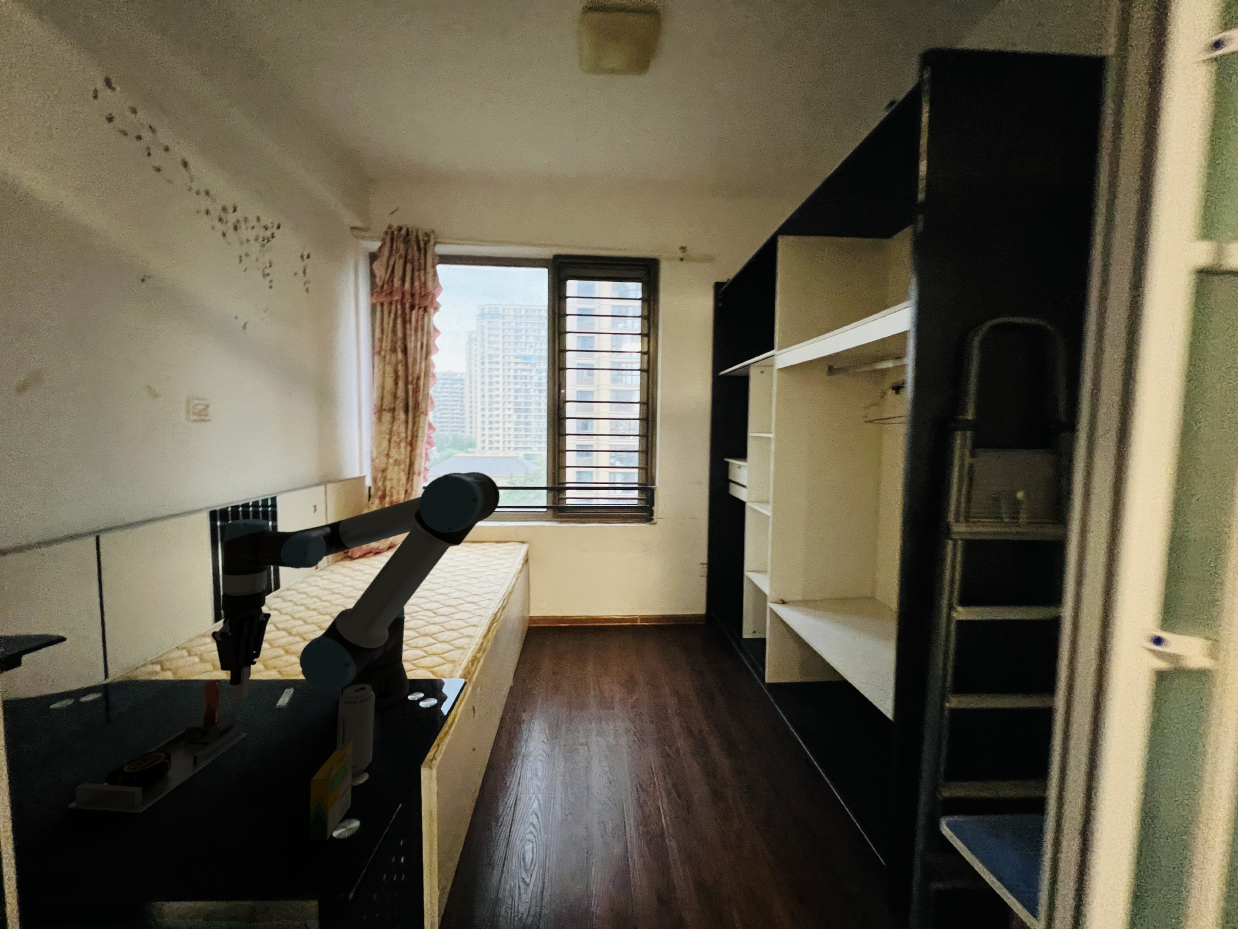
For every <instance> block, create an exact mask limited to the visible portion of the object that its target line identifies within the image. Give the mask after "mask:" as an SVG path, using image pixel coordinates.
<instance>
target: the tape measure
mask: <svg viewBox="0 0 1238 929" xmlns="http://www.w3.org/2000/svg"><path fill="white" fill-rule="evenodd" d="M146 752H147V751H146ZM170 768H171V754H170V753H169V752H168V751H150V752H147V753H143V754H141V755H139V756H137V757H135V758H133V759H131V760H129V761H128V762H126V763H123V764H122V765H120V766H118V767H115V768H114V769H112V770H110V771H109V772H108V774H107V776H105V777H104V778H105V780H104V781H105V782H104V783H108V785H115V786H129V787H144V786H147V785H149V784H152V783H154V782H156V781H157V780H159V779H161V778H162V777H163V776H165V775H166V774H167V773H168V772H169V770H170Z"/></svg>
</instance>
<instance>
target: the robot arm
mask: <svg viewBox="0 0 1238 929" xmlns="http://www.w3.org/2000/svg"><path fill="white" fill-rule="evenodd" d="M500 497H501V496H500V490H499V488H498V485H497V483H496V481H494V480H493V479H492V478H491V477H490V476H489V475H487V474H485V473H483V472H478V471H471V472H470V471H469V472H465V473H464V472H450V473H446V474H443V475H441V476H438V477H436V478H435V479H433V480H432V481H430V482H429V483H428V484H427V485H426V486H425V488H424V489H423V491H422V493H421V495H420V496H418V497H415V498H412V499H408V500H405V501H401V502H399V503H395V504H392V505H388V506H385V507H381V508H378V509H373V510H371V511H368V512H363V513H360V514H358V515H357V514H356V515H353V516H350V517H346V518H344V519H341V520H336V521H334V522H330V523H326V524H322V525H318V526H315V527H314V526H312V527H309V528H305V529H299V530H295V531H279V530H278V531H277V530H276V531H275V530H271V528H270V522H269V521H268V520H266V519H259V518H252V519H251V518H249V519H248V518H247V519H239V520H232V521H230V522H228V523H227V525H226V526H225V531H224V532H225V533H224V539H223V570H222V574H223V576H222V592H223V593H222V595H221V606H220V609H221V611H222V612H223V614H224V618H223V620H222V626H221V627H220V628H219V629H218V630H213V631H212V632H211V634H210V635H211V638H212V639H213V640H214V642H215V646H216V650H217V656H218V661H219V666H220V670H221V671H224V672H230V673H229V674H230V675H229V685H230V688H231V689H230V699H240V700H241V699H242V700H243V699H245V698H247V697H248V696H249V692H250V691H249V688H250V678H251V673H252V666H255V665H256V664H257V663H258V662H257V661H258V659H260V656H261V654H262V653H261V652H262V648H263V645H264V639H265V634H266V631H267V625H268V623H269V621H270V618H271V617H272V613H271V612H264V611H263V608H264V606H265V605H266V603H267V602H266V600H267V599H266V598H267V596H266V595H267V590H266V589H265V588H266V587H267V585H268V584H267V583H268V582H267V581H268V579H267V578H268V566H269V567H279V568H280V567H282V568H291V569H310V568H311V569H312V568H314V567H316V566H317V565H319V563H320V562H322V561H323V559H324V558H325V557H329V556H331V555H332V556H333V555H335V554H339V553H342V552H345V551H348V550H351V549H354V548H358V547H362V546H365V545H368V544H372V543H375V542H380V541H383V540H386V539H389V538H393V537H396V536H400V535H403V534H407V533H408V534H407V535H406V536H405V537H404V539H403V540H402V542H401V543H400V544H399V545H398V546H397V548H396V549H395V551H394V552H393V553H392V554H391V556H390V557H389V558H388V559H387V561H386V563H385V564H384V565H383V566H382V568H381V569H380V570H379V572H378V573H377V574H376V576H375V577H374V578H373V579H372V581H371V583H370V584H368V586H367V588H365V591H363V592H362V594H361V595H360V596H359V598H358V600H357V601H356V602H355V603H354V605H353V606H352V607H350V608H345V609H343V610H341V611H339V613H337V615H336V616H335V617H334V619H333V620H332V622H330V624H329V625H328V626H327V628H326V630H325V631H324V632H323V633H322V634H321V635H319V636H317V637H314V638H313V639H311V640H310V641H309V642H308V643H307V644H306V645H305V646H304V647H303V649H302V650H301V653H300V655H299V667H300V668H301V674H302V676H303V678H304V679H305V680H306V682H307V683H308V684H309V685H311V686H312V687H314V688H315V689H318V690H320V691H323V692H335V691H338V690H340V692H339V700H340V699H341V697H342V696H343V691H344V690H345V689H346V688H348V687H350V686H353V685H357V684H368V685H370V686H371V687H372V691H373V693H374V694H375V704H374V712H376V711H380V710H383V709H387V708H389V707H392V706H394V705H396V704H398V703H401V701H402V700H403V699H405V698H406V697H407V695H408V693H409V686H410V684H409V682H410V680H409V678H408V675H407V671H406V669H405V665H404V662H403V651H404V638H405V637H404V636H405V635H404V634H405V619H406V616H405V606H406V605H407V603H408V602H409V601H410V599H411V598H412V596H413V595H414V594H415V593H416V591H417V590H418V589H419V588H420V586H421V585H422V584H423V582H424V581H425V580H426V579H427V577H428V576H429V574H431V572H432V570H433V569H434V568H435V566H436V565H437V564H438V563H439V561H440V560H441V559H442V558H443V556H445V554H446V553H447V550H449V548H450V547H455V546H460V545H461V544H462V543H463V542H464V541H465V539H466V538H467V537H468V535H469V534H470V533H471V532H472V530H473V529H474V528H475V526H476V525H477V524H478V523H479V522H481V521H484V520H485V519H488V518H489V517H491V515H492V514H493V513H494V512H495V511H496V509H497V508H498V505H499V502H500ZM339 700H338V701H339Z"/></svg>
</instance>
